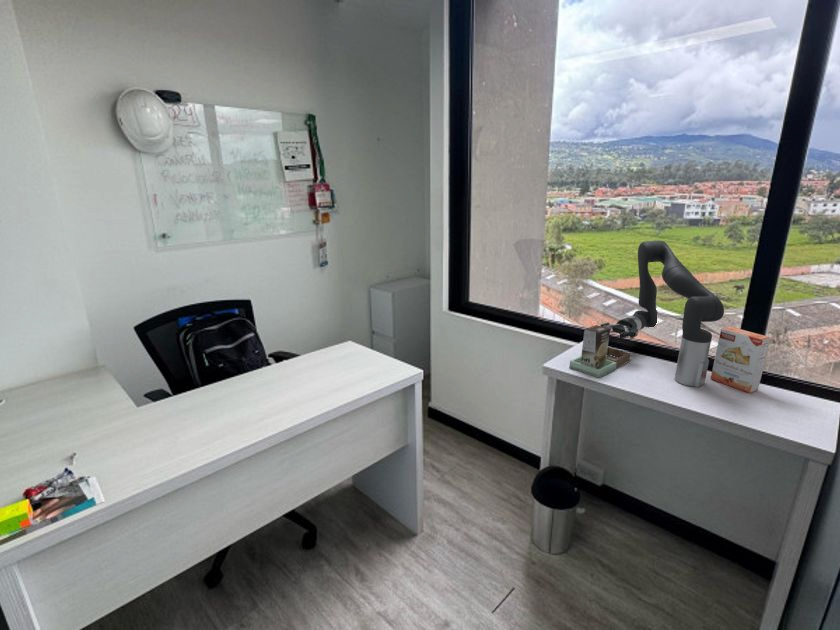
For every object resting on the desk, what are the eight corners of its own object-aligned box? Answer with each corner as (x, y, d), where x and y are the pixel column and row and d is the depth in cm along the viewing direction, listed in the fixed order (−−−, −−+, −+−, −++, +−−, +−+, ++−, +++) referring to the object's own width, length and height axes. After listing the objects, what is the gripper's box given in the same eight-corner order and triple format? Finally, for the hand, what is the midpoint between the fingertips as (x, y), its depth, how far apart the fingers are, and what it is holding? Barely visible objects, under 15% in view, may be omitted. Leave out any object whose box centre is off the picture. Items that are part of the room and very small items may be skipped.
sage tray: (615, 369, 179) (616, 362, 178) (599, 377, 171) (600, 370, 170) (586, 359, 188) (586, 353, 188) (569, 367, 180) (569, 360, 179)
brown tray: (629, 360, 188) (631, 353, 187) (615, 368, 180) (616, 360, 179) (607, 354, 195) (608, 346, 194) (592, 361, 187) (593, 353, 186)
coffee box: (594, 371, 174) (599, 332, 170) (579, 366, 179) (583, 328, 174) (605, 365, 180) (610, 328, 175) (591, 360, 185) (595, 324, 180)
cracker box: (709, 379, 170) (720, 327, 164) (718, 376, 173) (729, 325, 167) (749, 394, 158) (762, 339, 152) (758, 390, 161) (771, 336, 155)
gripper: (614, 314, 197) (595, 321, 187) (646, 321, 187) (628, 328, 177) (612, 330, 199) (593, 337, 189) (644, 338, 189) (626, 346, 179)
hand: (610, 333), depth 183 cm, fingers open, 8 cm apart
